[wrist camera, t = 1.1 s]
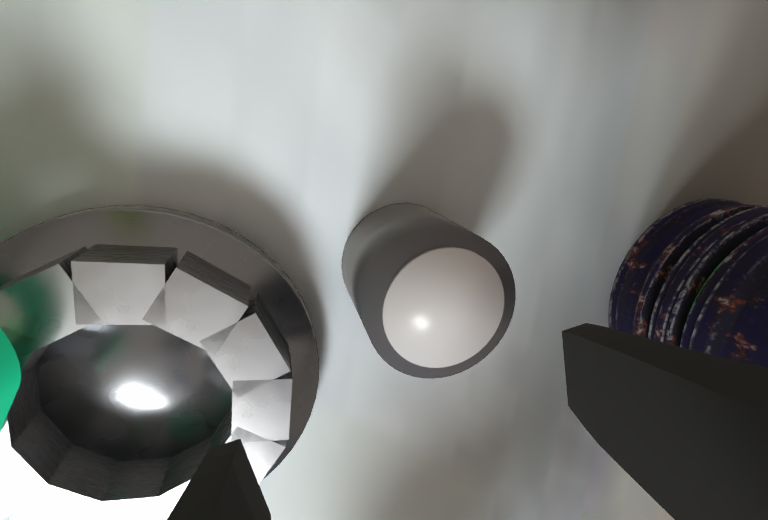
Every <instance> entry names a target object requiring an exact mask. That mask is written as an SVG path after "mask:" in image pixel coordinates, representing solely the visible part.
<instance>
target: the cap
mask: <svg viewBox="0 0 768 520" xmlns="http://www.w3.org/2000/svg"><path fill="white" fill-rule="evenodd" d="M342 275H343V279H344V283H345V285H346V288H347V290H348V292H349V294H350V296H351V299H352V301H353V303H354V305H355V307H356V309H357V312H358V314H359V316H360V318H361V320H362V323H363V325H364V327H365V329H366V331H367V333H368V336H369V338H370V340H371V342H372V344H373V346H374V348H375V349H376V351H377V353H378V354H379V355H380V356H381V357H382V359H383V360H384V361H386V362H387V363H388V364H389V365H390V366H392V367H393V368H395V369H396V370H398V371H400V372H402V373H405V374H407V375H411V376H414V377H420V378H442V377H447V376H451V375H454V374H457V373H460V372H462V371H464V370H467V369H469V368H470V367H472V366H474V365H475V364H477V363H478V362H480V361H481V360H482V359H484V358H485V357H486V356H487V355H488V354H489V353H490V352H491V351H492V350H493V349H494V348H495V347H496V345H497V344H498V343H499V342H500V340H501V339H502V337H503V336H504V334H505V332H506V330H507V328H508V326H509V323H510V321H511V318H512V315H513V311H514V305H515V283H514V279H513V275H512V272H511V269H510V267H509V264H508V263H507V261H506V260H505V258H504V256H503V255H502V254H501V253H500V252H499V250H498V249H497V248H495V247H494V246H493V245H492V244H491V243H489V242H488V241H486V240H485V239H483V238H481V237H479V236H478V235H476V234H474V233H472V232H470V231H468V230H467V229H465V228H463V227H461V226H459V225H457V224H456V223H454V222H452V221H450V220H448V219H446V218H445V217H443V216H441V215H439V214H437V213H435V212H434V211H432V210H430V209H428V208H425V207H423V206H420V205H416V204H410V203H398V204H392V205H388V206H384V207H382V208H379V209H377V210H375V211H374V212H372V213H370V214H369V215H367V216H366V217H365V218H364V219H362V220H361V221H360V222H359V223H358V224H357V226H356V227H355V228H354V229H353V231H352V232H351V234H350V236H349V237H348V240H347V242H346V244H345V247H344V251H343V256H342Z"/></svg>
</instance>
